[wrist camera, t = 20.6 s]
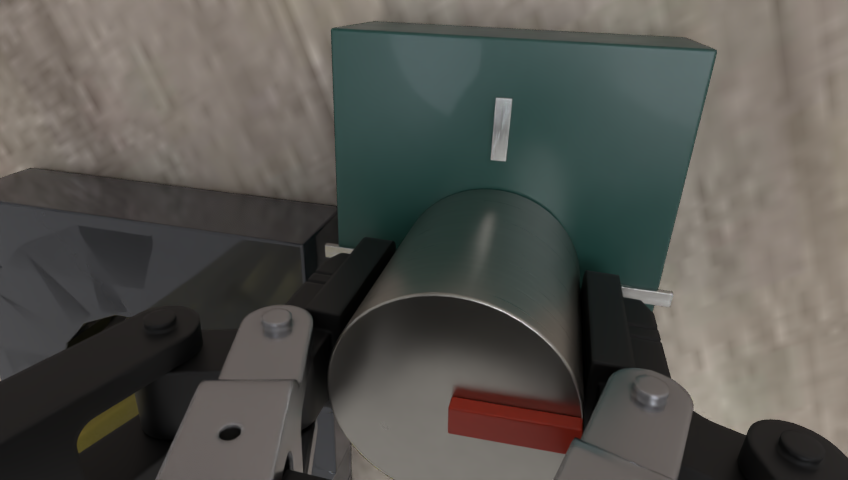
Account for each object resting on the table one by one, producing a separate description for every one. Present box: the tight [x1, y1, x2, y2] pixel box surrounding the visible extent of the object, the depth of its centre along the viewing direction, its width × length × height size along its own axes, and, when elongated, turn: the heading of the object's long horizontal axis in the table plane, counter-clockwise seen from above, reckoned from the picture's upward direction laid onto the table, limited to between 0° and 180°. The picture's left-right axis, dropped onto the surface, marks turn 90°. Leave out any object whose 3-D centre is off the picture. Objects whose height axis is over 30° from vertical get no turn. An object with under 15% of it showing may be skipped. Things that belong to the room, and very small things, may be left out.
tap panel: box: [325, 21, 717, 312], centre depth 15 cm, size 11×9×3 cm
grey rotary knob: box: [327, 189, 585, 480], centre depth 11 cm, size 4×4×5 cm
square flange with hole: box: [0, 168, 352, 480], centre depth 20 cm, size 14×13×3 cm
